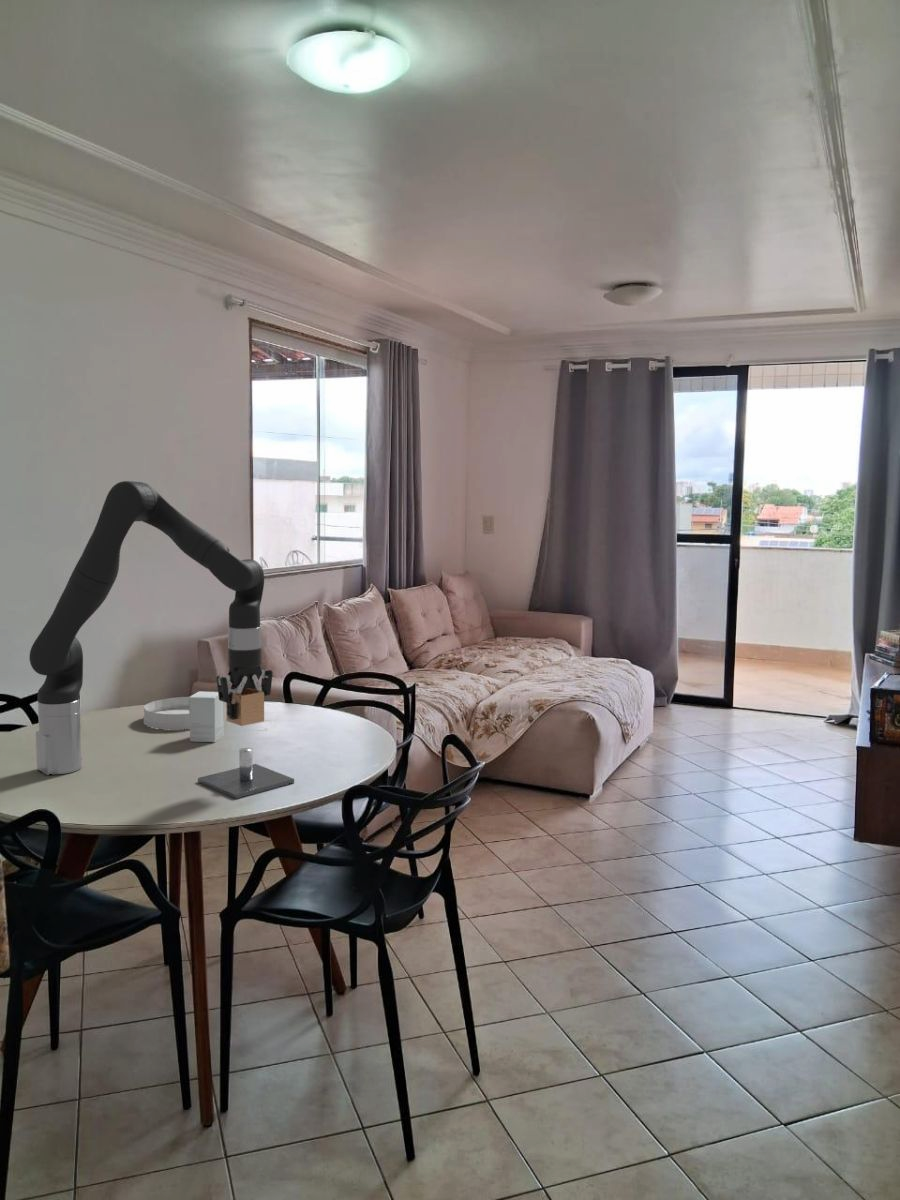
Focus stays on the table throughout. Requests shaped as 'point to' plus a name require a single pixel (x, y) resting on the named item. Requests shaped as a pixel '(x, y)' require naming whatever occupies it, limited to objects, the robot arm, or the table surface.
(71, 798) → the table surface
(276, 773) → the grey square plate
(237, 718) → the wooden cubby box
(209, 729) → the supplement box
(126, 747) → the table surface
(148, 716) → the dish
